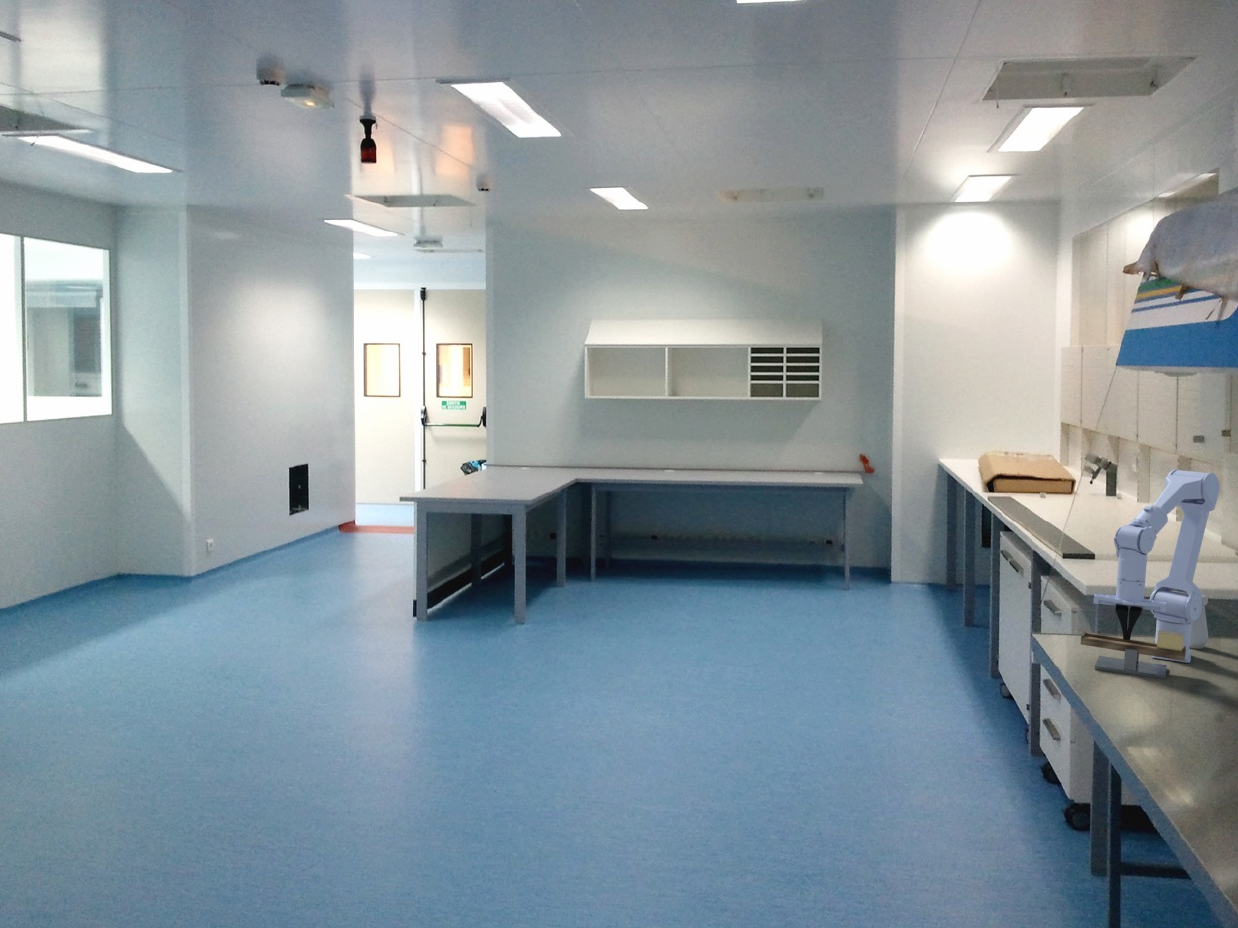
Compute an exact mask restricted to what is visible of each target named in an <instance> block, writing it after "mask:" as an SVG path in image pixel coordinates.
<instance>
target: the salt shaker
mask: <svg viewBox="0 0 1238 928" xmlns="http://www.w3.org/2000/svg"><path fill="white" fill-rule="evenodd" d="M1208 600H1209V599H1208V596H1206V595H1205V594H1202V602H1201V603H1202V610H1201V614H1200V616H1199V618H1198V619H1197V620H1196V621H1195V622H1193V623H1191V634H1190V647H1189V649H1194V650H1195V649H1197V650H1201V649H1204V648H1205V646H1206V644H1207V643H1208V642H1209V638H1210V637H1209V632H1208V631H1209V629H1208V624H1207V623H1208V622H1207V615H1206V606H1207V605H1208V602H1209V601H1208Z"/></svg>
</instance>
